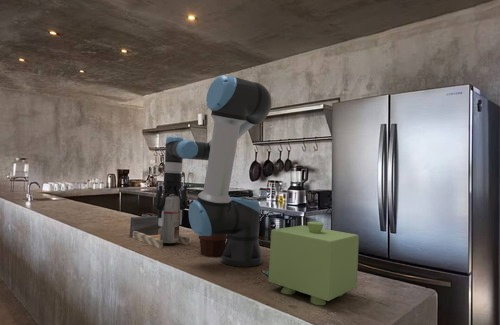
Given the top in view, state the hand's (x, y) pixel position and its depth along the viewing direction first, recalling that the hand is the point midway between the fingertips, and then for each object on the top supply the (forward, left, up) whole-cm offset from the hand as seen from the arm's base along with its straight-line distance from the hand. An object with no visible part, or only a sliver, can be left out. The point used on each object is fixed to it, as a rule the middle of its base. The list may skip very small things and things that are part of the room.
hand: (170, 224), depth 148 cm
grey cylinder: (0, 0, -7) cm, 7 cm away
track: (+6, +6, -8) cm, 12 cm away
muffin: (-12, -20, -9) cm, 25 cm away
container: (-50, -53, -9) cm, 73 cm away
